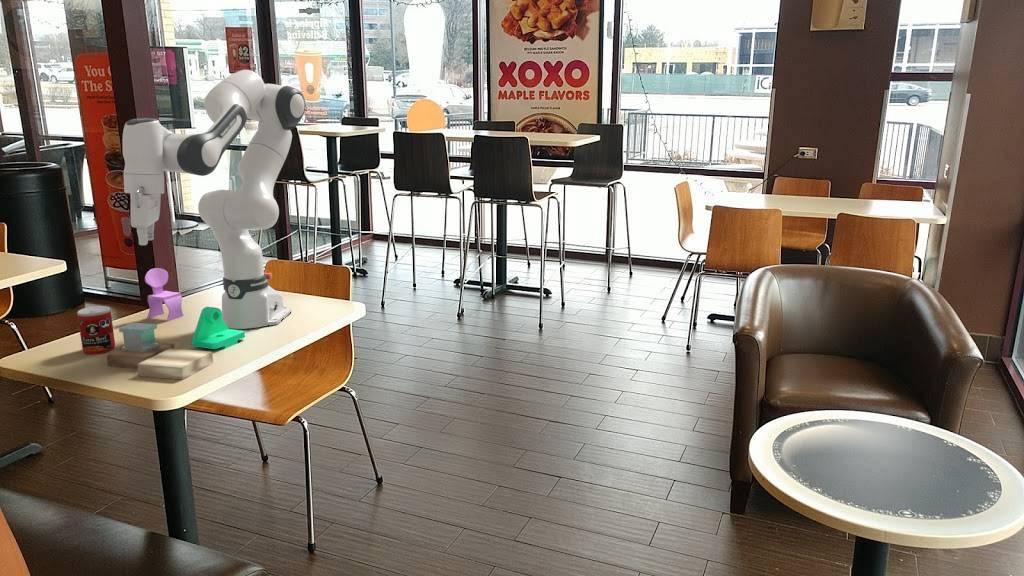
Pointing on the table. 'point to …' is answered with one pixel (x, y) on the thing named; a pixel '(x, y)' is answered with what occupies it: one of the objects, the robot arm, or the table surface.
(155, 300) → the toy chair
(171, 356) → the stand
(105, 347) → the canned food
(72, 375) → the table surface
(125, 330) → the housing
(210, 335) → the camera mount
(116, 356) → the stand
